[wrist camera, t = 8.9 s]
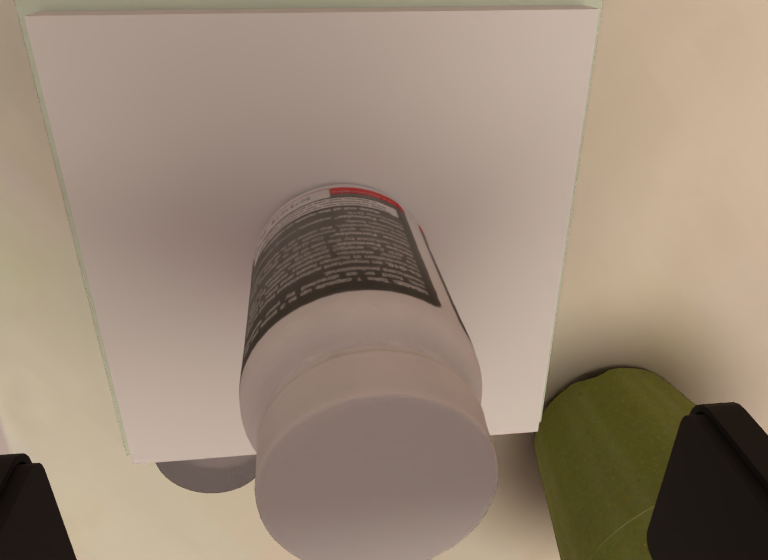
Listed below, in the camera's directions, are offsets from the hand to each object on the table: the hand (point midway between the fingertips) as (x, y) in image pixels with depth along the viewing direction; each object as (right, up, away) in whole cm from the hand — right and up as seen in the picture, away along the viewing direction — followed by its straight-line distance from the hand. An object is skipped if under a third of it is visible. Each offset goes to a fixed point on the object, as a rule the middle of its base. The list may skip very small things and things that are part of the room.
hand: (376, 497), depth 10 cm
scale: (-2, +7, +14) cm, 16 cm away
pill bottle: (-1, +4, +8) cm, 9 cm away
